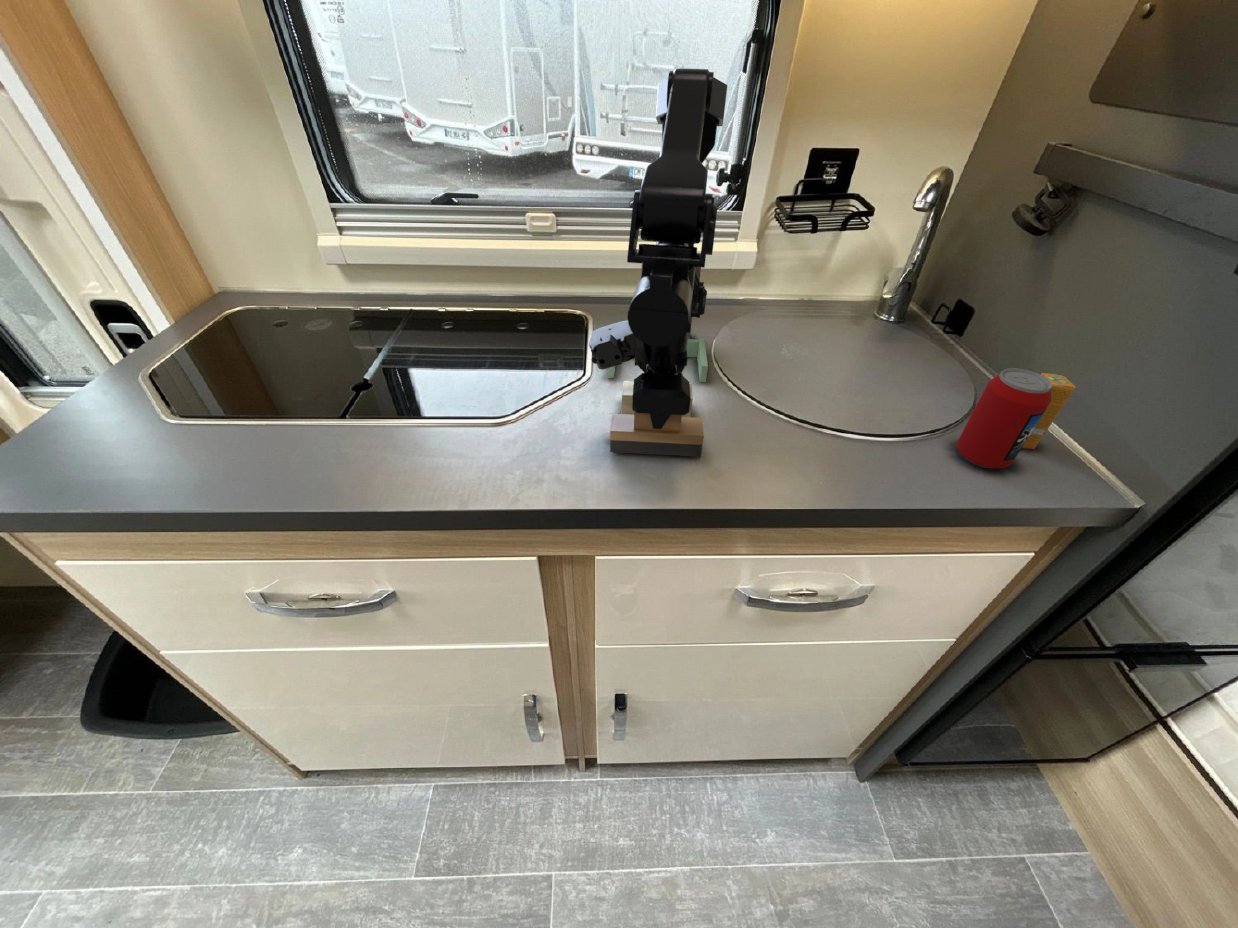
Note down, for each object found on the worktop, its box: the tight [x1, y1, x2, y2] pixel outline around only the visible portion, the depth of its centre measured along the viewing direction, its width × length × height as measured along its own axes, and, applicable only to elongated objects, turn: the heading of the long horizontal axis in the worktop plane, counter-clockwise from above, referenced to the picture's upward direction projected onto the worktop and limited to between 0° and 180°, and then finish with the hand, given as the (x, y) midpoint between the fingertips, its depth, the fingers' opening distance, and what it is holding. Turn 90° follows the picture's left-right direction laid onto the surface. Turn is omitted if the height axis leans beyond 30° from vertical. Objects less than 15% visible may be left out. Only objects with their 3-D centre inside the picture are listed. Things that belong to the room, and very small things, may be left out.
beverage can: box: [956, 367, 1052, 469], centre depth 67 cm, size 7×7×12 cm
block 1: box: [621, 380, 634, 415], centre depth 77 cm, size 4×4×4 cm
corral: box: [607, 338, 709, 383], centre depth 88 cm, size 10×16×3 cm, turn 86°
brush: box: [609, 411, 705, 458], centre depth 68 cm, size 4×12×8 cm, turn 86°
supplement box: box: [1022, 372, 1077, 450], centre depth 70 cm, size 3×4×10 cm
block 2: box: [682, 383, 694, 417], centre depth 77 cm, size 4×4×4 cm
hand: (657, 420), depth 68 cm, fingers closed on brush, 3 cm apart
